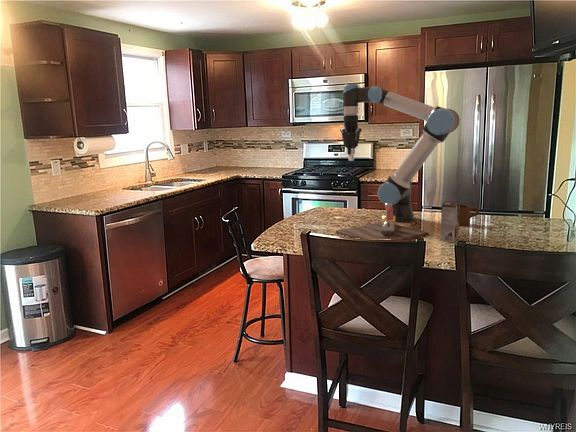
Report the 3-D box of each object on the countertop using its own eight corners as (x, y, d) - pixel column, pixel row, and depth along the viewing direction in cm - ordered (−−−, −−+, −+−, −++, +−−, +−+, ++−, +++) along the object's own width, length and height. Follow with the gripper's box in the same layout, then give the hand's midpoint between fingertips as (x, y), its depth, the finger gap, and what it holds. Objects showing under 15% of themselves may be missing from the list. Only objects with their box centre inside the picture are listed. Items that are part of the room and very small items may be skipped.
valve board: (383, 224, 239) (383, 221, 239) (428, 235, 214) (428, 232, 214) (335, 233, 223) (335, 230, 223) (379, 246, 198) (379, 243, 198)
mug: (476, 222, 236) (477, 204, 234) (480, 226, 229) (481, 207, 227) (452, 223, 238) (452, 205, 236) (455, 226, 230) (456, 207, 228)
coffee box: (444, 236, 213) (445, 201, 209) (458, 237, 209) (460, 202, 206) (439, 240, 205) (440, 204, 202) (454, 242, 202) (456, 205, 198)
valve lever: (384, 210, 221) (385, 201, 220) (391, 210, 220) (391, 201, 219) (386, 219, 200) (386, 209, 199) (393, 220, 199) (393, 210, 199)
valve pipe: (381, 225, 233) (382, 205, 230) (395, 225, 231) (395, 205, 229) (380, 236, 211) (381, 214, 209) (395, 237, 209) (395, 214, 207)
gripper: (355, 114, 246) (355, 159, 251) (336, 115, 239) (336, 161, 244) (365, 114, 240) (365, 160, 245) (345, 115, 233) (346, 161, 238)
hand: (351, 160), depth 245 cm, fingers closed
